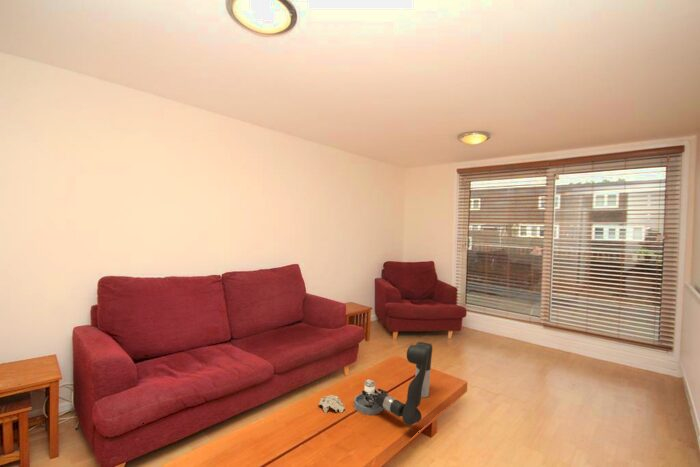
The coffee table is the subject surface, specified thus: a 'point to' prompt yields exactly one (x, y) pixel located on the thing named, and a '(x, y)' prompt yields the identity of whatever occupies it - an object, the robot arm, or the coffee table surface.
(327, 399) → the coral
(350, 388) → the coffee table surface
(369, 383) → the pebble cup
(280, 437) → the coffee table surface
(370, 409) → the bowl
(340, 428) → the coffee table surface
